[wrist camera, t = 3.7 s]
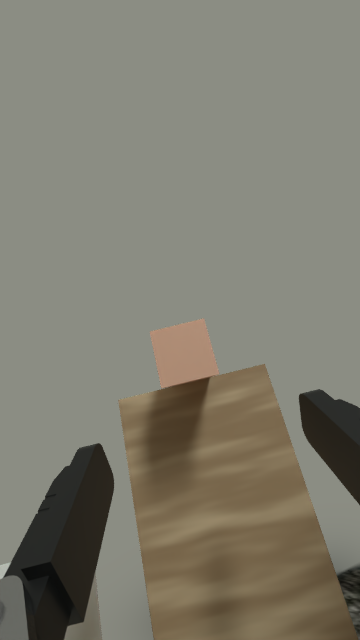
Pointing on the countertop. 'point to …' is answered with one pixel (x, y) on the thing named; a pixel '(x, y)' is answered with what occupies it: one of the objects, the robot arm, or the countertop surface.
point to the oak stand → (227, 516)
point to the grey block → (88, 633)
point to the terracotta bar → (183, 353)
